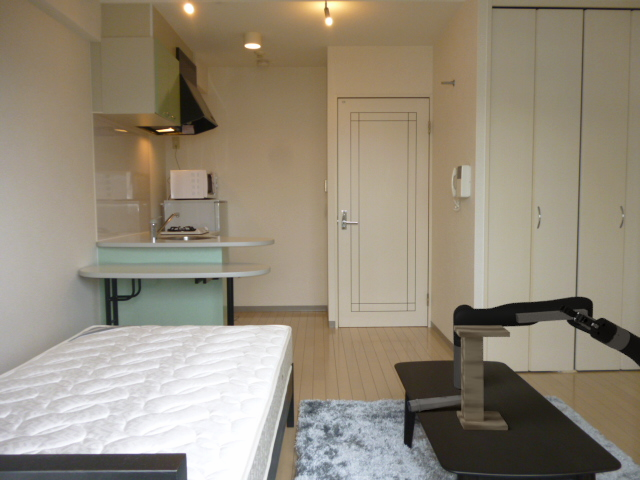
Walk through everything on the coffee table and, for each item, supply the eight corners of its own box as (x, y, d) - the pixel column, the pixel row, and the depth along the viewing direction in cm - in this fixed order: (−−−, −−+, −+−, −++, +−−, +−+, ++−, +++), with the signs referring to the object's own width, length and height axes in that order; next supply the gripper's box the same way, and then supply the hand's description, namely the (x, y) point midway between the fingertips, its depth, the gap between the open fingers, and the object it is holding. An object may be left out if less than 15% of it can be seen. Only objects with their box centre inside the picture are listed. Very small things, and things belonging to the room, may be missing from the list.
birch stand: (453, 414, 175) (453, 324, 173) (500, 415, 173) (500, 324, 172) (460, 429, 163) (460, 333, 161) (511, 430, 161) (510, 333, 160)
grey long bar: (516, 321, 167) (515, 313, 167) (584, 316, 165) (583, 308, 165) (518, 323, 164) (518, 315, 164) (587, 318, 162) (587, 310, 162)
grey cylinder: (406, 398, 181) (473, 387, 182) (409, 415, 182) (476, 404, 182) (409, 403, 176) (478, 392, 176) (411, 421, 176) (481, 410, 177)
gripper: (605, 319, 170) (560, 295, 171) (627, 329, 156) (577, 302, 157) (593, 338, 171) (548, 313, 171) (614, 349, 157) (565, 322, 157)
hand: (562, 308), depth 164 cm, fingers closed on grey long bar, 2 cm apart
